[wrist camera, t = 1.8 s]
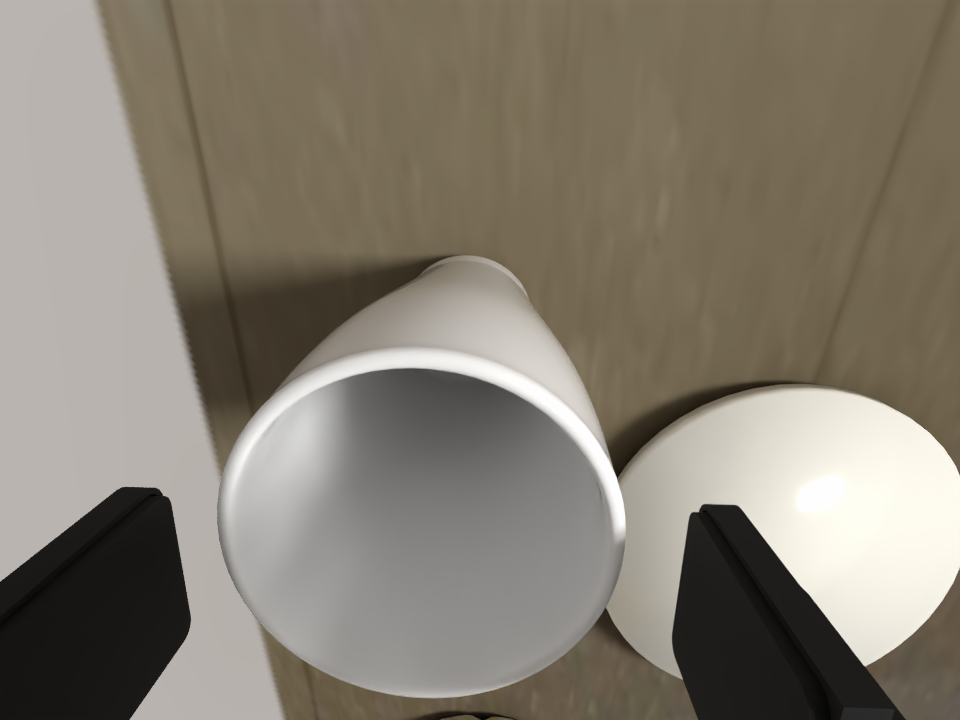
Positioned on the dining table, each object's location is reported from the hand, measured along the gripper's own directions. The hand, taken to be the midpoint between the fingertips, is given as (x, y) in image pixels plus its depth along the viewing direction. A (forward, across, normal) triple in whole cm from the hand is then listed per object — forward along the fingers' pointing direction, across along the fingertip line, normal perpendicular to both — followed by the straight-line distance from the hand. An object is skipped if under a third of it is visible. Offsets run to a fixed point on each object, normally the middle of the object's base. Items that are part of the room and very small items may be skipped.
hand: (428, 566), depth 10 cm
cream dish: (+14, -14, +9) cm, 22 cm away
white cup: (+14, 0, -1) cm, 14 cm away
